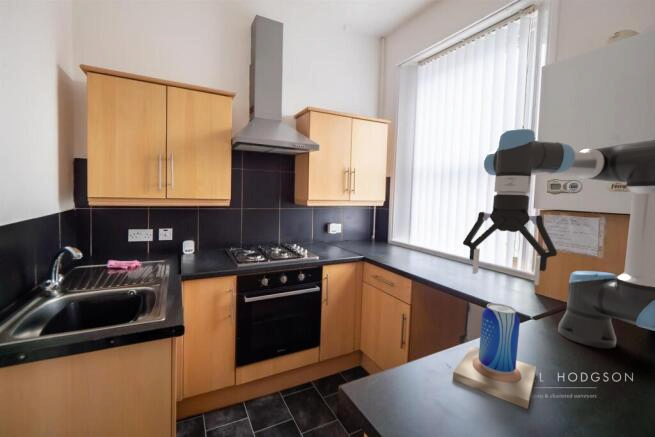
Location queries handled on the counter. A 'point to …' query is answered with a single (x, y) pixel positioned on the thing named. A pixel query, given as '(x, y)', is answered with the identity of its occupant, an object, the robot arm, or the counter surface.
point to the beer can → (499, 339)
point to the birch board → (497, 379)
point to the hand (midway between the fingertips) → (504, 278)
